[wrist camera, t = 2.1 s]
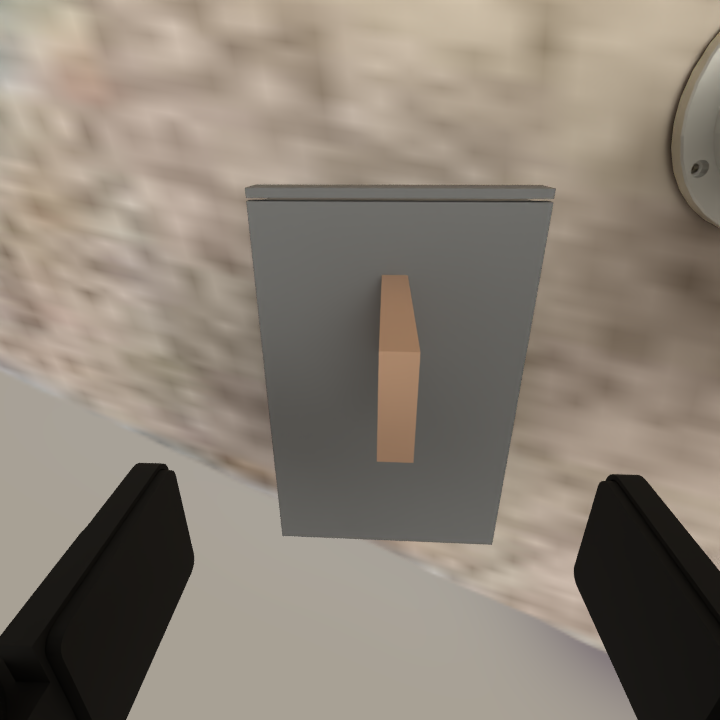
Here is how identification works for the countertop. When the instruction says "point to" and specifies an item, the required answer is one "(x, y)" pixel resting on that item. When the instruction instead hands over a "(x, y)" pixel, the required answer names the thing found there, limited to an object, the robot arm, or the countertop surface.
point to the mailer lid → (394, 352)
